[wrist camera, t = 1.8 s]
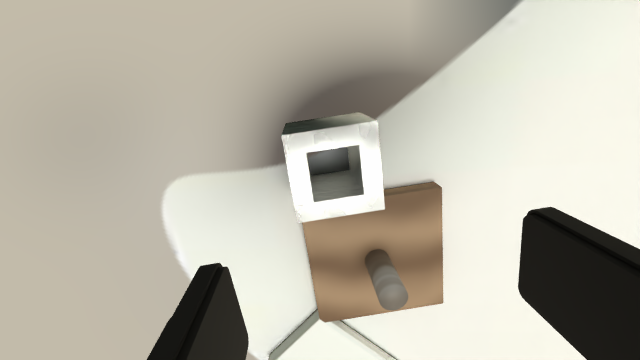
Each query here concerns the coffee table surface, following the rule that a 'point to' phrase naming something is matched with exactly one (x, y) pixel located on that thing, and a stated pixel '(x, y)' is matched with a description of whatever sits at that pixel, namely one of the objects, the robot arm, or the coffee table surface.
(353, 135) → the grey hollow cube
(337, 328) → the external hard drive
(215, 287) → the robot arm
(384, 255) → the shaft block
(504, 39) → the coffee table surface
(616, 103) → the coffee table surface
